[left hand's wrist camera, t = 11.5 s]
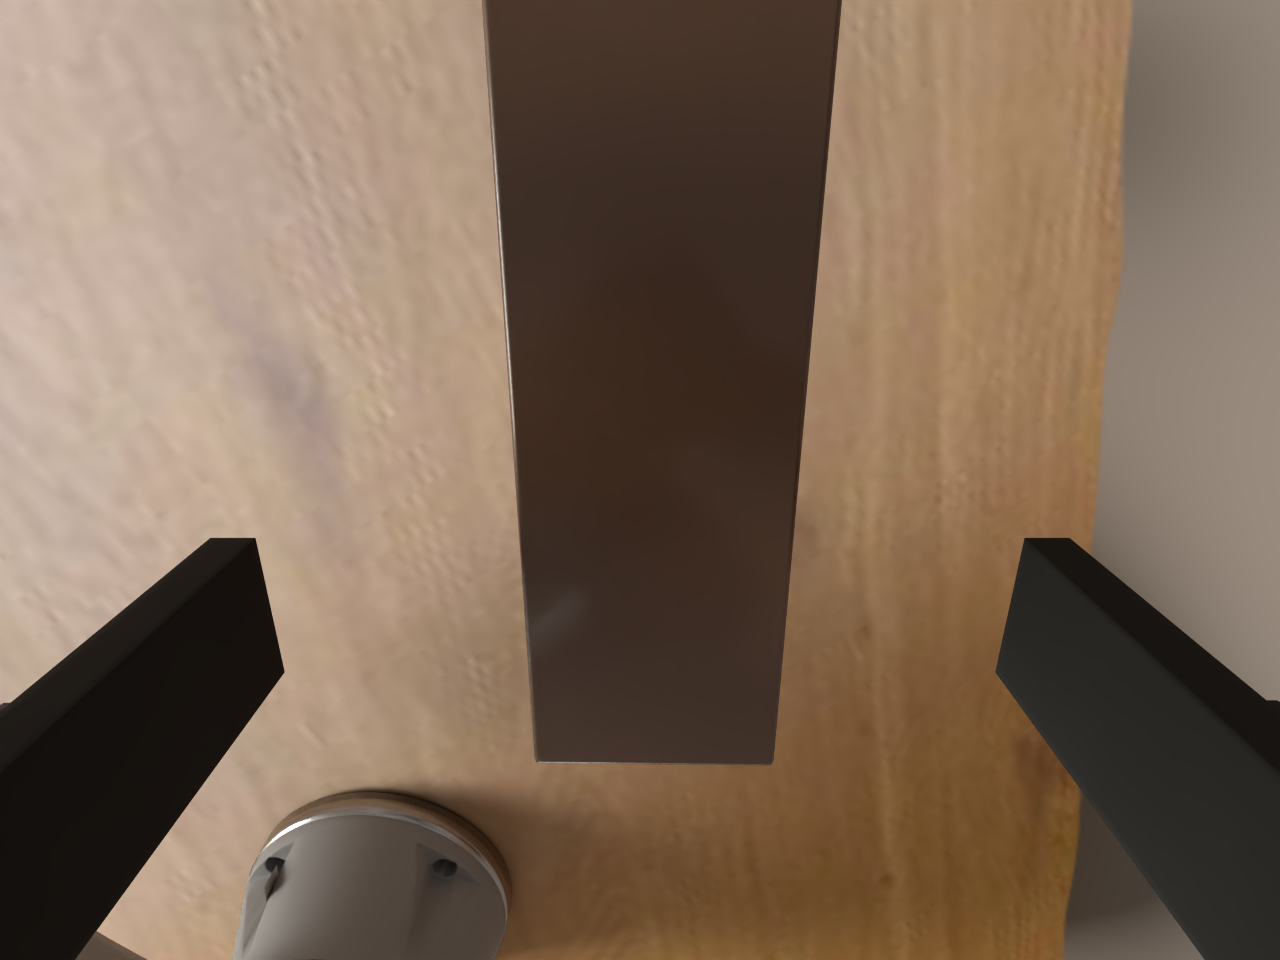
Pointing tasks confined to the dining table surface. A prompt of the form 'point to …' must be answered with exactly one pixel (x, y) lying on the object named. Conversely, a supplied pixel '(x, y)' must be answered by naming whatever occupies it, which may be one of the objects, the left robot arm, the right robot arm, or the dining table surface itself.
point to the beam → (658, 356)
